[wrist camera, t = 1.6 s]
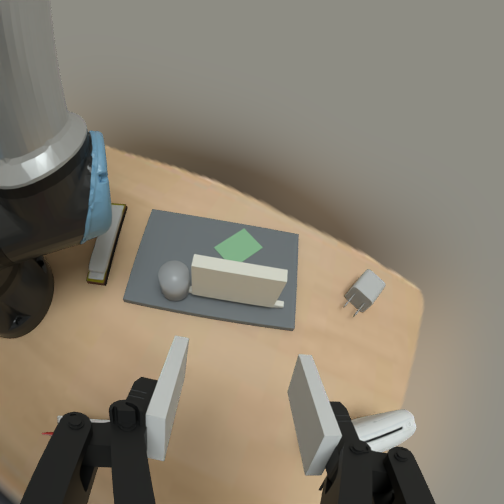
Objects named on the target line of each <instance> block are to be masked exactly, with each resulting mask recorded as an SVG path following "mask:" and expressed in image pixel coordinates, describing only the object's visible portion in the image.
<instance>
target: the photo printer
mask: <svg viewBox="0 0 504 504" xmlns="http://www.w3.org/2000/svg"><path fill="white" fill-rule="evenodd" d="M351 422H352V423H353V425H354V428H355V430H356V432H357V435H358V437H359V439H360V440H362V441H364V442H366V443H367V444H368V445H369V446H370V447H371V450H373V451H376V452H384V451H386V450H388V449H391V448H393V447H395V446H397V445H399V444H401V443H402V442H404V441H405V440H406V439H408V438H409V437H410V436H411V435H413V433H414V432H415V430H416V424H415V422H414V416H413V415H412V414H411V413H410V412H409V411H408V410H405V409H402V410H395V411H390V412H385V413H380V414H375V415H370V416H365V417H360V418H356V419H353V420H351Z"/></svg>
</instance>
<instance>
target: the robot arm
mask: <svg viewBox="0 0 504 504" xmlns="http://www.w3.org/2000/svg"><path fill="white" fill-rule="evenodd" d="M107 176H108V173H107V161H106V153H105V145H104V139H103V135H102V133H101V132H99V131H89V132H88V131H87V126H86V123H85V121H84V119H83V118H82V117H81V116H80V115H78V114H76V113H73V112H70V111H68V110H67V106H66V102H65V97H64V92H63V87H62V82H61V77H60V71H59V65H58V60H57V53H56V47H55V40H54V32H53V24H52V15H51V5H50V0H0V336H1V337H4V338H16V337H20V336H22V335H25V334H27V333H28V332H30V331H31V330H33V329H34V328H35V327H36V326H37V325H38V324H39V323H40V322H41V320H42V319H43V317H44V316H45V314H46V313H47V311H48V308H49V306H50V303H51V300H52V296H53V290H54V280H53V274H52V271H51V268H50V266H49V264H48V263H47V261H46V260H45V258H44V257H43V256H42V255H46V254H49V253H52V252H55V251H58V250H62V249H65V248H68V247H71V246H75V245H78V244H83V243H85V242H86V241H87V240H90V239H92V238H95V237H98V236H100V235H103V234H104V233H106V232H107V231H108V230H109V228H110V226H111V224H112V207H111V197H110V188H109V181H108V177H107ZM188 342H189V338H186V337H180V336H175V337H174V340H173V343H172V345H171V348H170V350H169V353H168V356H167V358H166V361H165V363H164V366H163V369H162V371H161V374H160V377H159V379H158V380H153V379H148V378H144V377H141V378H139V379H138V380H136V381H135V382H134V384H133V386H132V388H131V390H130V392H129V395H128V397H127V399H126V400H119V401H116V402H114V403H113V404H111V405H110V408H109V416H110V422H105V423H98V422H91V421H90V419H89V418H88V417H87V416H86V415H84V414H82V413H78V412H71V413H67V414H65V415H64V416H63V417H62V418H61V419H60V421H59V423H58V425H57V427H56V429H55V431H54V433H53V435H52V437H51V439H50V441H49V443H48V445H47V447H46V449H45V451H44V453H43V455H42V457H41V459H40V461H39V463H38V465H37V467H36V469H35V471H34V474H33V476H32V478H31V480H30V482H29V484H28V487H27V489H26V491H25V493H24V496H23V498H22V500H21V503H20V504H87V502H88V499H89V495H90V492H91V489H92V485H93V482H94V479H95V475H96V472H97V469H98V467H112V481H113V494H114V504H156V503H155V498H154V493H153V488H152V482H151V477H150V471H149V465H148V458H151V459H156V460H161V461H164V460H165V456H166V451H167V447H168V443H169V439H170V435H171V430H172V426H173V422H174V418H175V414H176V410H177V406H178V402H179V398H180V394H181V390H182V386H183V382H184V378H185V369H186V360H187V351H188ZM288 397H289V401H290V406H291V411H292V416H293V420H294V425H295V430H296V434H297V439H298V444H299V449H300V453H301V458H302V463H303V468H304V472H305V475H322V473H323V471H324V469H325V468H326V471H327V476H326V478H325V480H324V481H323V483H322V485H321V486H320V488H319V490H320V491H321V490H322V488H323V491H322V497H321V503H320V504H435V502H434V499H433V497H432V495H431V493H430V490H429V488H428V486H427V484H426V481H425V479H424V477H423V475H422V473H421V470H420V468H419V466H418V464H417V462H416V460H415V458H414V456H413V454H412V453H411V451H409V450H408V449H406V448H403V447H393V448H391V449H390V450H389V451H388V453H382V452H376V451H373V450H371V447H370V446H369V445H368V444H367V443H366V442H364V441H362V440H360V439H359V437H358V435H357V432H356V430H355V428H354V425H353V423H352V422H351V418H350V416H349V414H348V411H347V409H346V408H345V407H344V406H343V405H342V404H341V403H340V402H330V401H329V399H328V397H327V394H326V392H325V389H324V386H323V384H322V381H321V378H320V376H319V373H318V371H317V368H316V365H315V363H314V360H313V358H312V355H303V354H299V355H298V358H297V362H296V365H295V369H294V372H293V375H292V379H291V382H290V385H289V389H288Z"/></svg>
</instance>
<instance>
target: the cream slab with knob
mask: <svg viewBox="0 0 504 504" xmlns="http://www.w3.org/2000/svg"><path fill="white" fill-rule="evenodd" d="M191 273H192V286H190V277H189V270H188V268H187V266H186V265H185V264H184V263H182V262H180V261H169V262H166V263H165V264H163V265H162V266H161V268H160V269H159V272H158V278H159V282H160V286H161V291H162V294H163V295H164V297H166V298H167V299H168V300H171V301H180V300H182V299H184V298H185V297H186V296H187V295H188V294H189V293H192V294H193V295H198V296H204V297H210V298H215V299H221V300H227V301H233V302H239V303H246V304H252V305H258V306H265V307H271V308H273V307H278V308H283V307H284V301H279V300H277V299H278V297H279V296H280V294H281V292H282V290H283V288H284V287H285V285H286V283H287V274H288V270H285V269H279V268H273V267H267V266H261V265H255V264H249V263H244V262H238V261H232V260H226V259H220V258H214V257H209V256H203V255H197V254H194V257H193V261H192V265H191Z"/></svg>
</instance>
